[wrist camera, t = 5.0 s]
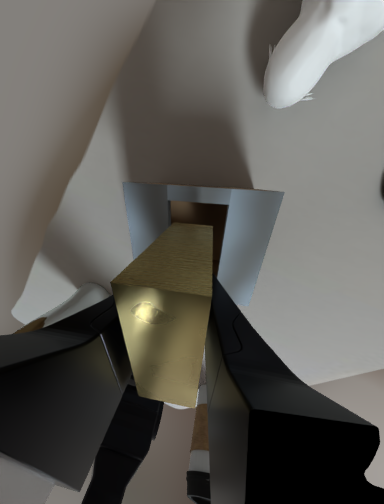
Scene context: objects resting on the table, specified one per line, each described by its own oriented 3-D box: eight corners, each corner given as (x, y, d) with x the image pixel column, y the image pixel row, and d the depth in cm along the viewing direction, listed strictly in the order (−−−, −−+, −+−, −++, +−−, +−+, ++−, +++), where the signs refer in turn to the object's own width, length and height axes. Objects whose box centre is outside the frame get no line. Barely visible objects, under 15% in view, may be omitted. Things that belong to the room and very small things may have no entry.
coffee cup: (203, 398, 39) (199, 509, 26) (188, 383, 37) (174, 497, 23) (232, 396, 37) (243, 518, 23) (217, 379, 34) (220, 506, 21)
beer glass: (71, 283, 26) (-75, 385, 13) (100, 277, 25) (-34, 386, 11) (92, 310, 29) (-12, 417, 16) (119, 306, 27) (29, 423, 14)
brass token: (174, 296, 11) (138, 396, 6) (173, 222, 9) (110, 282, 3) (203, 300, 11) (194, 408, 6) (212, 225, 8) (212, 296, 3)
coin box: (162, 256, 21) (138, 290, 14) (158, 183, 17) (122, 182, 10) (236, 265, 20) (248, 306, 13) (254, 189, 16) (284, 192, 9)
